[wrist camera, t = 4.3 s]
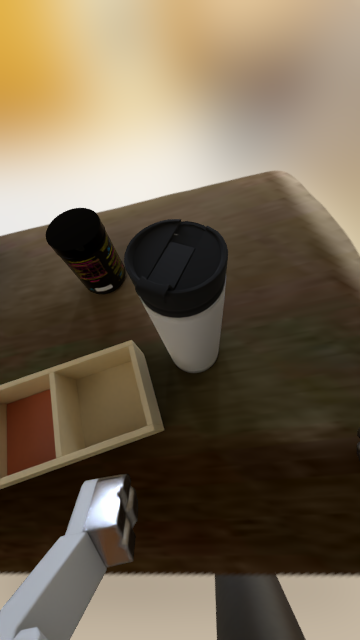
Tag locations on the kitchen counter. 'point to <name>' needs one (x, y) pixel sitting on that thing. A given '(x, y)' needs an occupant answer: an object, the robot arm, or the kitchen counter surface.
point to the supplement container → (86, 249)
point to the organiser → (75, 412)
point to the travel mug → (181, 287)
